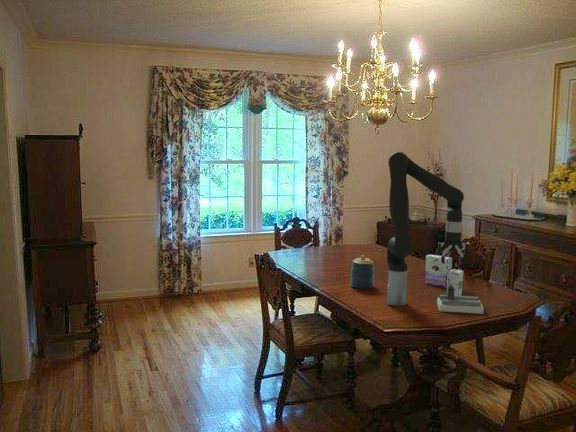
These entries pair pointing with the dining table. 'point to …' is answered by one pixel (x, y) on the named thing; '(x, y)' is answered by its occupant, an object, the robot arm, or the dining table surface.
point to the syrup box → (456, 281)
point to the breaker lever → (450, 292)
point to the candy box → (437, 270)
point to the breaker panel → (459, 308)
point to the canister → (362, 273)
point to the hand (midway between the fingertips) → (451, 264)
